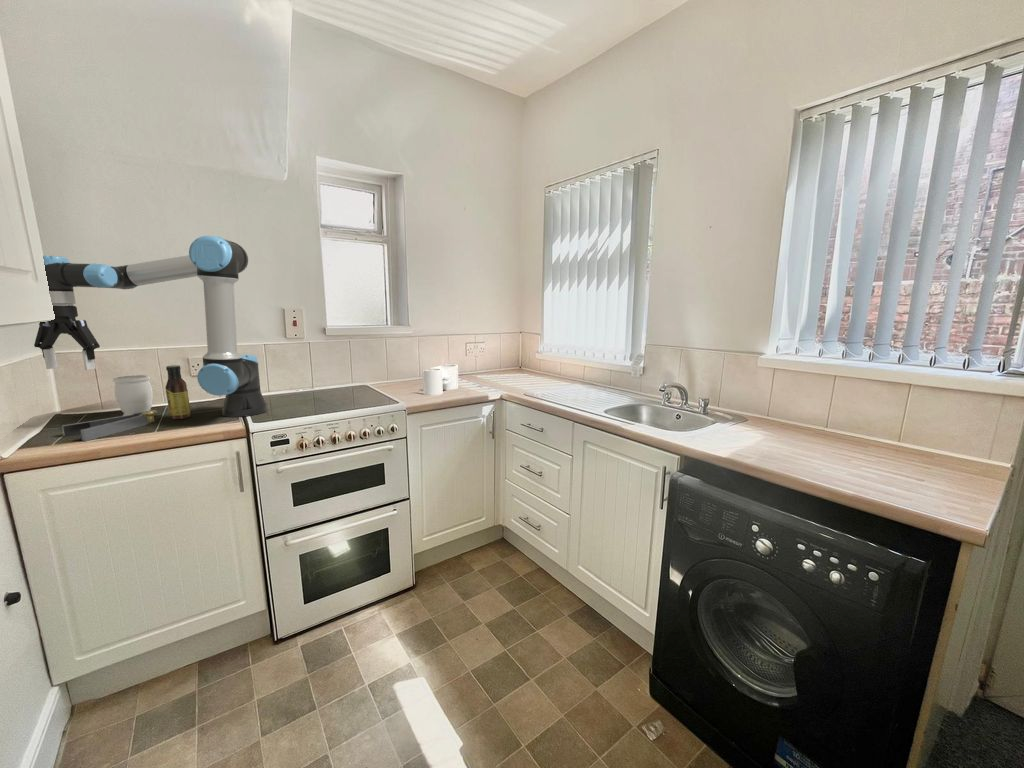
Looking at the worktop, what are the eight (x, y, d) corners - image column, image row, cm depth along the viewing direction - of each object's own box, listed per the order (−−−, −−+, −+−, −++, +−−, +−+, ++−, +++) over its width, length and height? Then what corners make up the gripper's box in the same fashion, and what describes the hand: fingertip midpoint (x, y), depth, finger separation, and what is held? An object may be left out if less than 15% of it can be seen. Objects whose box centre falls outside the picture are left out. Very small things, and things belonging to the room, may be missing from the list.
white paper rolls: (438, 396, 198) (437, 371, 196) (420, 394, 201) (420, 370, 199) (461, 387, 221) (461, 364, 219) (445, 385, 224) (445, 363, 222)
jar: (163, 413, 162) (157, 375, 159) (137, 420, 152) (130, 380, 149) (138, 412, 163) (132, 374, 160) (111, 419, 153) (104, 379, 150)
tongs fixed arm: (151, 421, 151) (149, 411, 150) (157, 421, 150) (156, 412, 150) (78, 440, 129) (76, 429, 128) (85, 441, 128) (83, 430, 128)
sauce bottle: (173, 416, 157) (166, 364, 154) (193, 414, 160) (186, 364, 156) (167, 420, 151) (159, 367, 148) (187, 419, 154) (180, 366, 150)
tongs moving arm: (155, 420, 152) (154, 409, 152) (159, 421, 150) (158, 411, 149) (63, 435, 133) (61, 424, 132) (66, 438, 131) (64, 426, 130)
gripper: (107, 305, 138) (117, 368, 142) (37, 304, 140) (49, 366, 144) (83, 305, 131) (95, 371, 135) (9, 304, 132) (23, 369, 136)
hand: (71, 369), depth 139 cm, fingers open, 13 cm apart
